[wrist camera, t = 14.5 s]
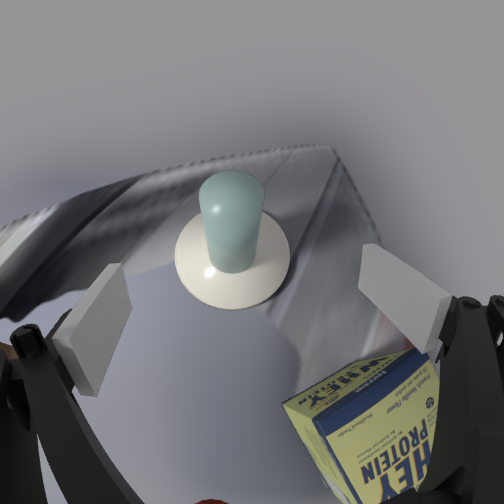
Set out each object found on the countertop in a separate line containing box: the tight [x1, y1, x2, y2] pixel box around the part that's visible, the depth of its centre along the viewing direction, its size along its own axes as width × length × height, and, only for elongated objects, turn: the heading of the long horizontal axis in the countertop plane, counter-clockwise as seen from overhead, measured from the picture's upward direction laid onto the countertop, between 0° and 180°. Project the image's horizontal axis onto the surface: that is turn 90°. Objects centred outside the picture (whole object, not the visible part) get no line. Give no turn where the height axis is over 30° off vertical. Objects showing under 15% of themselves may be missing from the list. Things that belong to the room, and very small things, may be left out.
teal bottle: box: [199, 170, 265, 274], centre depth 30 cm, size 6×6×12 cm
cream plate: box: [175, 212, 290, 311], centre depth 36 cm, size 15×15×1 cm
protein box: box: [281, 348, 440, 504], centre depth 20 cm, size 10×16×16 cm
